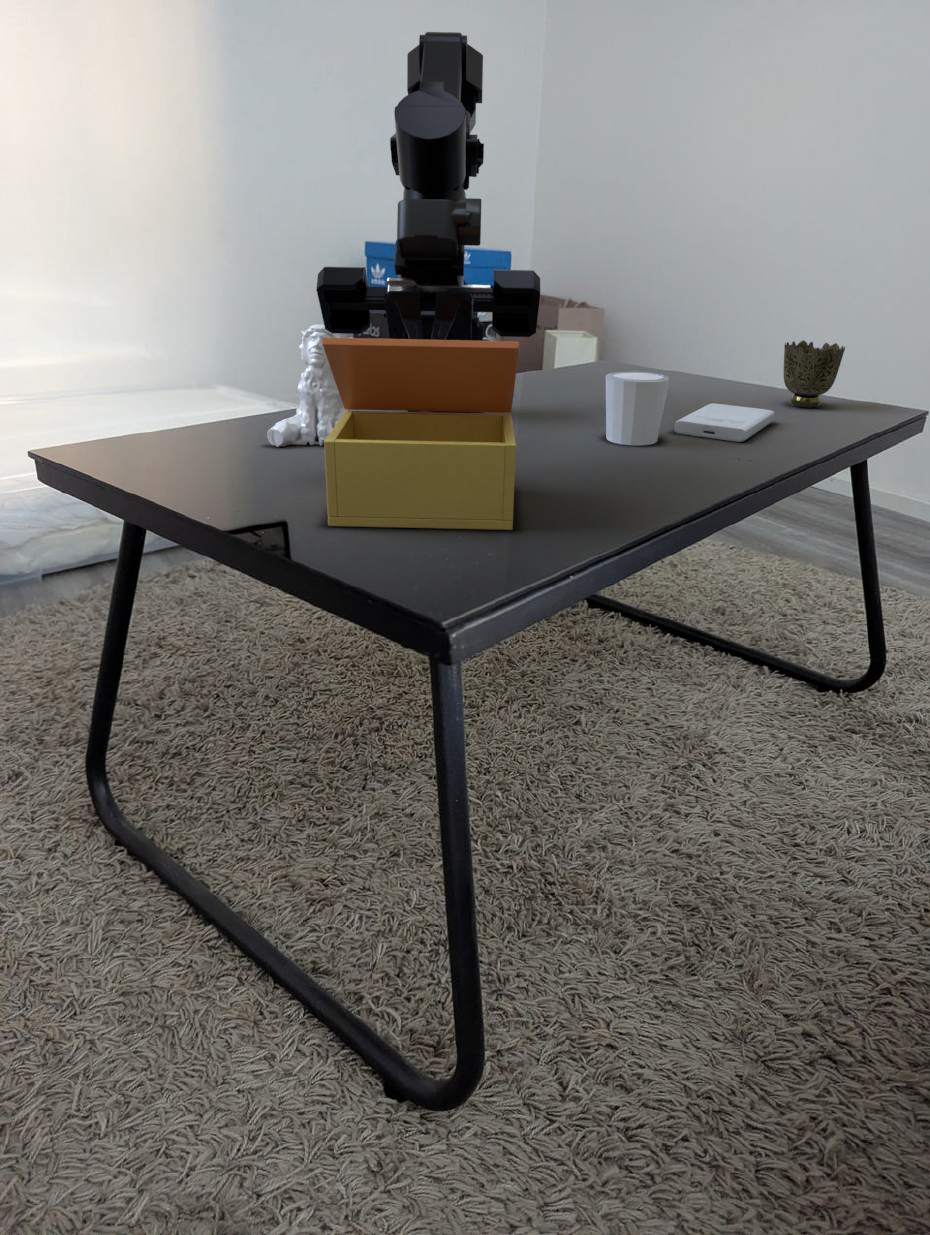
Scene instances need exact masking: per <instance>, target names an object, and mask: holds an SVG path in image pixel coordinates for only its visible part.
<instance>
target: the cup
mask: <svg viewBox="0 0 930 1235" xmlns="http://www.w3.org/2000/svg"><path fill="white" fill-rule="evenodd" d="M845 351H846V346H844V345H841V347H840V346H839V345H838V343H837V342H835V343H833V344H831V345H830V344H829V342H825V343H824V344H823V345H822V347H815V346H814V342H813V341H810V342H809V343H807V341H806V340H804V339H803V340H800V341H799V342H798V344H796V342H795V341H794V340H793V341H792V342H791V344H790V342H788V341H787V342H784V350H783V383H784V385H785V387H786V389H787V390H788V391H789V392H790V393H792V395H791V397H790V403H791V404H792V405H793V406H795V407H796V408H804V409H806V408H807V409H813V408H816V407H818V406H819V404H820V402H821V397H820V396H822V395H824V394H826V393H827V392H828V391H830V389H831V388H832V387H833V385H834V383H835V381H836V378H837V376H838V373H839V369H840V367H841V363H842V360H843V356H844V353H845Z"/></svg>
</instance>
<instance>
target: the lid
mask: <svg viewBox="0 0 930 1235" xmlns="http://www.w3.org/2000/svg"><path fill="white" fill-rule="evenodd" d="M322 344H323V347H324V350H325V353H326V356H327V359H328V362H329V365H330V368H331V371H332V374H333V377H334V379H335V382H336V385H337V388H338V391H339V394H340V397H341V400H342V403H343V406H344V409H349V411H399V412H408V411H449V412H471V413H498V414H511V413H512V411H513V410H512V409H513V404H514V403H513V402H514V394H515V387H516V378H517V368H518V361H519V354H520V341H517V340H516V341H515V340H514V341H513V340H483V341H471V340H420V339H390V338H366V337H361V338H360V337H359V338H358V337H353V338H350V337H340V338H323V343H322Z"/></svg>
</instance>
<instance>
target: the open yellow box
mask: <svg viewBox="0 0 930 1235" xmlns="http://www.w3.org/2000/svg"><path fill="white" fill-rule="evenodd" d="M513 423H514V422H513V417H512V414H511V413H486V412H471V413H436V412H408V411H388V410H349V411H345V412H344V413H343V415H342V416H341V418H340V419H339V421H338V422H337V424H336V425H335V427H334V428H333V429H332V431H331V432H330V434H329V435H328V437H327V438H326V440H325V441H324V444H323V447H324V448H323V449H324V465H325V467H324V468H325V488H326V506H327V508H326V509H327V525H328V527H350V528H353V527H354V528H355V527H356V528H362V527H363V528H396V529H397V528H400V529H405V528H406V529H407V528H408V529H444V530H445V529H447V530H496V531H497V530H498V531H512V530H513V529H514V528H513V527H514V521H513V520H514V508H515V507H514V504H515V483H516V482H515V480H516V458H517V457H516V455H517V443H516V436H515V430H514V424H513Z"/></svg>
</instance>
